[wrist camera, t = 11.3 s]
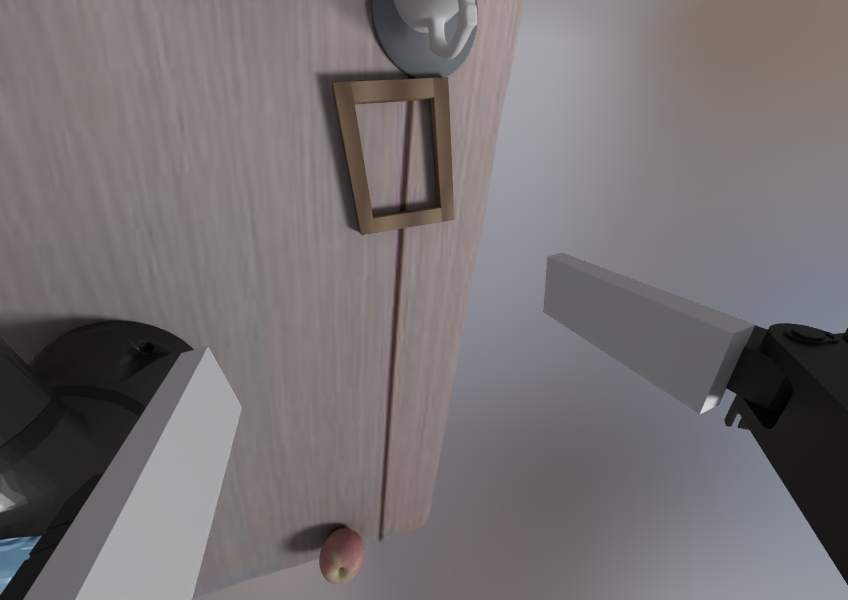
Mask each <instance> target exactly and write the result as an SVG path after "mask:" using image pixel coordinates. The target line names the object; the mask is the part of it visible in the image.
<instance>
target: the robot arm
mask: <svg viewBox="0 0 848 600" xmlns="http://www.w3.org/2000/svg"><path fill="white" fill-rule="evenodd" d="M546 270H547V271H546V283H545V297H544V311H543V312H544V313H546V314H547V315H549V316H550V317H552V318H553V319H555V320H557V321H558V322H559V323H561V324H563V325H564V326H565V327H567V328H569V329H570V330H572V331H573V332H575V333H577V334H578V335H579V336H581V337H583V338H584V339H585V340H587V341H588V342H590V343H592V344H593V345H595V346H596V347H598V348H599V349H601V350H602V351H604V352H605V353H607V354H608V355H610V356H612V357H613V358H615V359H616V360H618V361H619V362H621V363H622V364H624V365H625V366H627V367H628V368H630V369H631V370H633V371H634V372H636V373H638V374H639V375H641V376H642V377H644V378H645V379H647V380H648V381H650V382H652V383H653V384H654V385H656V386H658V387H659V388H661V389H662V390H664V391H665V392H667V393H668V394H670V395H671V396H673V397H675V398H676V399H677V400H679V401H680V402H682V403H683V404H685V405H687V406H688V407H690V408H691V409H693V410H694V411H696V412H697V413H699V414H701V413H703V412H705V411H707V410H709V409H711V408H713V407H716V406H718V405H719V403H720V401H721V399H722V397H723V394H724V392H725V390H726V388H727V389H729V390H731V391H732V392H734V393H736V394H737V395H736V397H735V399H734V401H733V403H732V405H731V407H730V409H729V411H728V413H727V415H726V417H725V424H726V426H731V425H732V423H733V421H734V419H735V418H736V417H739V416H741V417H742V418H741V420H740V422H739V424H738V428H742V429H748V430H750V431H751V433H752V434H753V436H754V438H755V439H756V441H757V442H758V444H759V445H760V447H761V448H762V450H763V452H764V453H765V455H766V457H767V458H768V460H769V461H770V463H771V464H772V466H773V468H774V469H775V471H776V472H777V474H778V475H779V477H780V478H781V480H782V482H783V483H784V485H785V486H786V488H787V490H788V491H789V493H790V494H791V496H792V498H793V499H794V501H795V502H796V504H797V506H798V507H799V508H800V510H801V512H802V513H803V515H804V517H805V518H806V520H807V521H808V523H809V525H810V526H811V528H812V529H813V531H814V532H815V534H816V536H817V537H818V539H819V540H820V542H821V543H822V545H823V546H824V548H825V550H826V551H827V553H828V555H829V556H830V558H831V559H832V561H833V562H834V564H835V566H836V567H837V569H838V570H839V572H840V573H841V575H842V577H843V578H844V580H845V581H846V583H847V585H848V328H847V330H846V332H845V333H839V334H832V333H830V332H826V331H823V330H820V329H817V328H813V327H809V326H804V325H798V324H788V323H785V324H775V325H772V326H770V327H769V329H768V330H767V329H764V328H761V327H758V326H756V325H754V324H751V323H748V322H746V321H743V320H741V319H738V318H735V317H733V316H730V315H727V314H725V313H722V312H719V311H716V310H714V309H711V308H709V307H706V306H703V305H700V304H698V303H695V302H692V301H690V300H687V299H684V298H682V297H679V296H676V295H674V294H671V293H668V292H665V291H663V290H660V289H658V288H655V287H652V286H650V285H647V284H644V283H642V282H639V281H636V280H633V279H631V278H628V277H625V276H623V275H620V274H617V273H615V272H612V271H609V270H606V269H604V268H601V267H598V266H596V265H593V264H590V263H588V262H585V261H582V260H580V259H577V258H574V257H572V256H569V255H566V254H564V253H560V254H556V255H552V256H548V257H547V269H546ZM241 409H242V406H241V405H240V403H239V401H238V399H237V397H236V396H235V394H234V392H233V390H232V388H231V387H230V385H229V383H228V381H227V379H226V378H225V376H224V374H223V372H222V370H221V369H220V367H219V365H218V363H217V361H216V360H215V358H214V356H213V354H212V352H211V351H210V349H209V347H208V346H207V347H203V348H199V349H195V350H194V349H193V348H192V347H190V346H189V345H188V344H187V343H186V342H184V341H183V340H181V339H180V338H178V337H176V336H175V335H173V334H171V333H169V332H166V331H164V330H161V329H159V328H156V327H152V326H149V325H144V324H139V323H132V322H102V323H95V324H90V325H86V326H83V327H79V328H77V329H74V330H72V331H70V332H68V333H66V334H64V335H62V336H61V337H59V338H58V339H57V340H55V341H54V342H52V343H51V344H50V345H48V346H47V347H45V348H44V349H43V350H42V351H41V352H40V353H38V354H37V356H36V357H35V358H34V359H33V360H32V362H31V363H30V365H29V366H28V365H27V364H26V363H25V362H24V361H23V360H22V359H21V358H20V357H19V356H18V355H17V354H16V353H15V352H14V351H13V350H12V349H11V348H10V347H9V346H8V345H7V344H6V343H5V342H4V340H3V339H2V338H1V337H0V600H192V597H193V593H194V589H195V586H196V582H197V578H198V574H199V570H200V566H201V563H202V559H203V555H204V551H205V547H206V543H207V539H208V536H209V532H210V528H211V524H212V520H213V516H214V513H215V509H216V505H217V501H218V497H219V493H220V490H221V486H222V482H223V478H224V474H225V470H226V466H227V463H228V459H229V455H230V451H231V447H232V443H233V440H234V436H235V432H236V428H237V424H238V420H239V416H240V413H241Z"/></svg>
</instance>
